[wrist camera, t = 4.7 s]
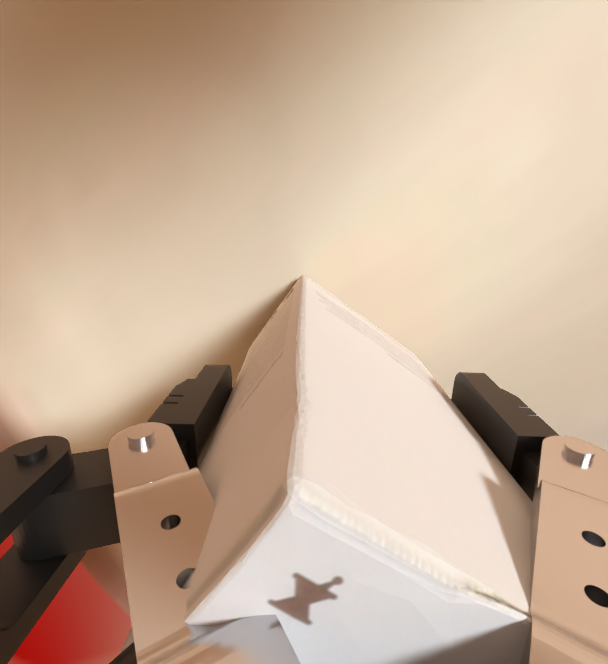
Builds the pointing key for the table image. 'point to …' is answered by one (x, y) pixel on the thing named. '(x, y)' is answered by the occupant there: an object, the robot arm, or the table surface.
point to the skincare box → (359, 503)
